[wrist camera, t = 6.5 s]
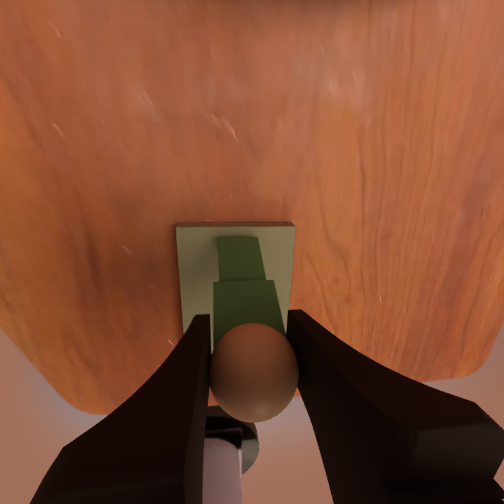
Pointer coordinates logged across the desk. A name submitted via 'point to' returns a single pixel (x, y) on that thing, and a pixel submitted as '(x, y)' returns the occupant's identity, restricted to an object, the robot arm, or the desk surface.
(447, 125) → the desk surface
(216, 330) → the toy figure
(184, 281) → the toy stand
